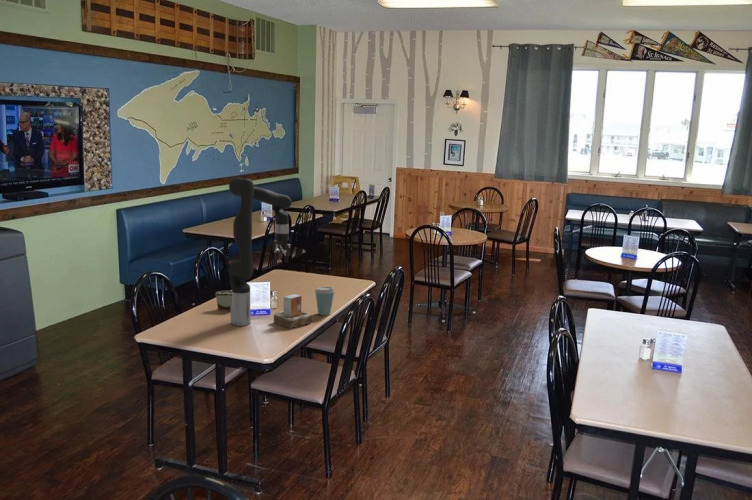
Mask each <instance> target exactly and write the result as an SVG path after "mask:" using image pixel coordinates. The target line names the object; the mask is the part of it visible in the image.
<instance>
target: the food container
mask: <svg viewBox="0 0 752 500" xmlns="http://www.w3.org/2000/svg"><path fill="white" fill-rule="evenodd" d="M214 296H215V298H216V305H217V310H218V311H223V312H224V311H225V312H231V306H232V290H219V291H217V292H215V294H214Z"/></svg>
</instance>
